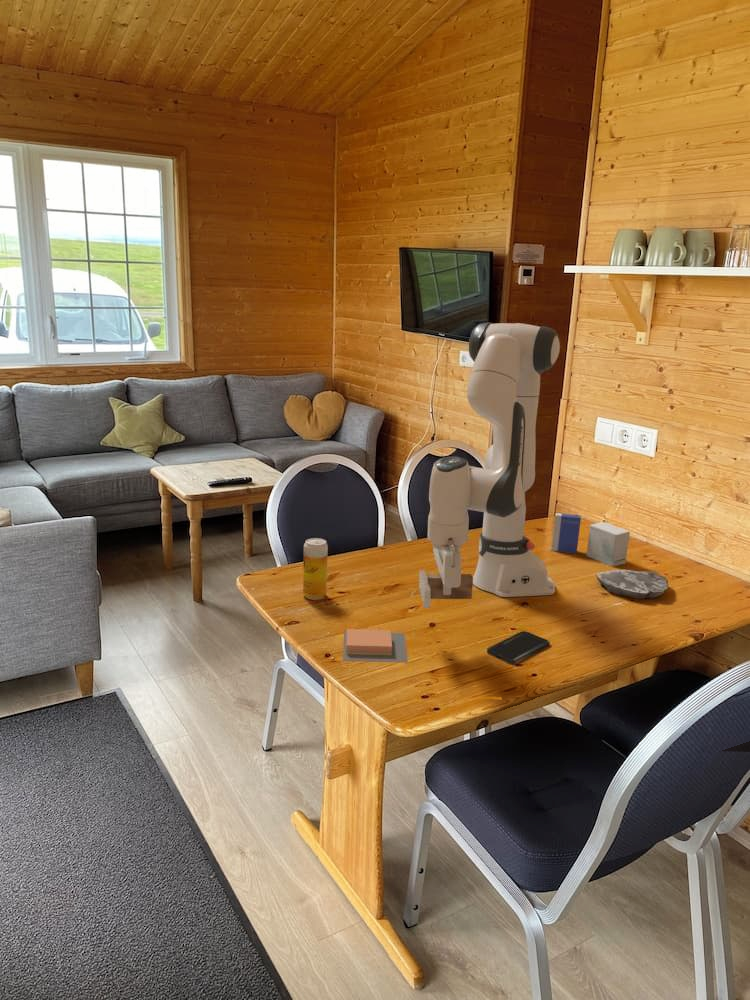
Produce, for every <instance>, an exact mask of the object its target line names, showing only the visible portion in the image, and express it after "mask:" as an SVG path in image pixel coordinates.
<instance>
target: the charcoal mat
mask: <svg viewBox="0 0 750 1000" xmlns="http://www.w3.org/2000/svg"><path fill="white" fill-rule="evenodd" d="M405 638H406V637H405V633H404V632H391V640H392V655H369V654H346V645H347V630H345V631H343V647H342V648H343V649H342V650H343V652H342V654H343V655H342V661H346V662H348V661H350V662H381V663H384V662H385V663H408V654H407V646H406V639H405Z"/></svg>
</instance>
